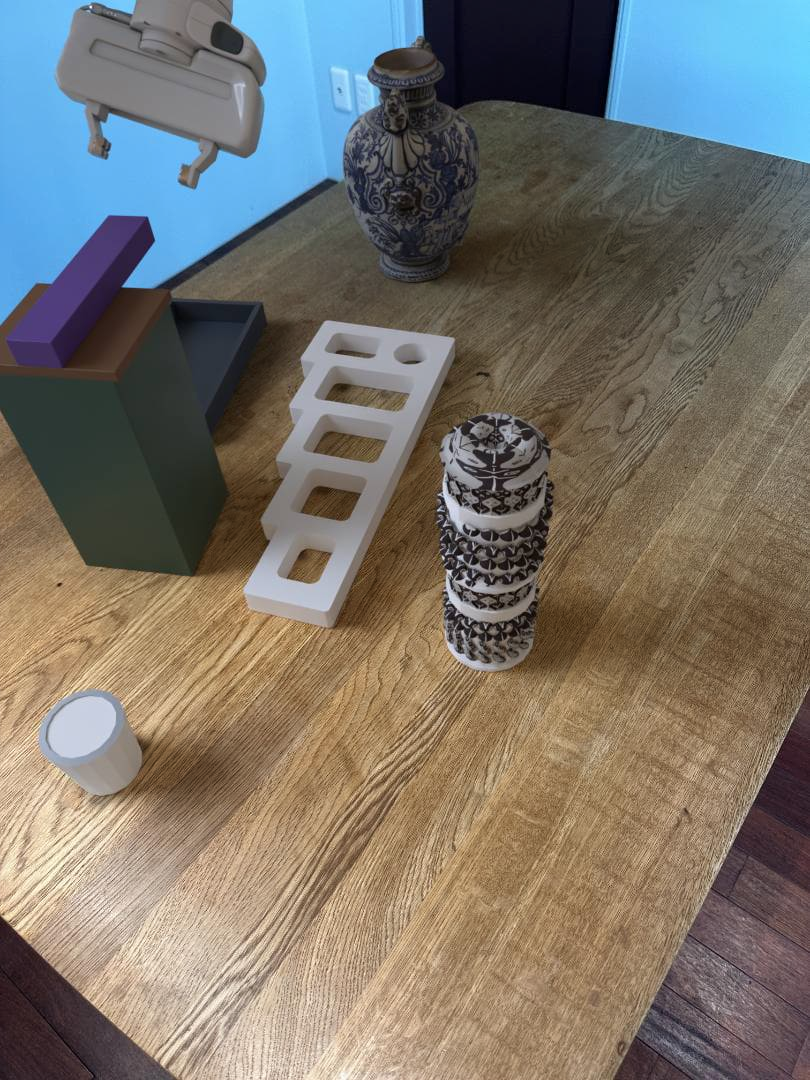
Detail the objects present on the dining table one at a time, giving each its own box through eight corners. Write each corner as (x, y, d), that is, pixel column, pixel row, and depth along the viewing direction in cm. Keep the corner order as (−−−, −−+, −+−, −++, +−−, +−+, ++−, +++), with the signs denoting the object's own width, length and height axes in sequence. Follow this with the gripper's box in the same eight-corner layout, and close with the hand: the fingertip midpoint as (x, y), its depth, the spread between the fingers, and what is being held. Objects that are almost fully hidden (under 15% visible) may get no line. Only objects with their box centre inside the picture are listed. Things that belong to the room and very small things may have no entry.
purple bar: (17, 365, 65) (4, 339, 64) (117, 239, 78) (108, 214, 76) (63, 368, 65) (51, 342, 63) (155, 241, 78) (148, 216, 76)
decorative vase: (468, 307, 113) (469, 92, 92) (339, 300, 116) (311, 90, 95) (485, 230, 127) (489, 27, 106) (370, 226, 130) (351, 28, 109)
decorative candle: (558, 632, 77) (588, 431, 58) (493, 694, 73) (502, 500, 54) (486, 580, 81) (492, 378, 62) (421, 635, 77) (406, 438, 58)
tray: (101, 439, 99) (91, 416, 96) (175, 319, 115) (169, 297, 113) (206, 447, 97) (199, 425, 94) (267, 324, 113) (262, 302, 111)
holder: (331, 628, 78) (328, 612, 76) (167, 590, 83) (160, 573, 81) (455, 355, 106) (455, 337, 104) (327, 337, 110) (325, 320, 108)
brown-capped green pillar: (81, 564, 86) (-33, 362, 66) (126, 484, 93) (36, 282, 74) (197, 577, 84) (115, 372, 64) (233, 494, 91) (169, 288, 72)
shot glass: (140, 801, 68) (113, 764, 63) (60, 804, 68) (26, 767, 63) (156, 727, 72) (132, 686, 67) (81, 730, 73) (50, 689, 67)
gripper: (64, -22, 77) (27, 126, 78) (270, 48, 77) (229, 193, 79) (91, 13, 83) (56, 148, 85) (282, 77, 83) (243, 211, 85)
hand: (141, 171), depth 82 cm, fingers open, 8 cm apart
